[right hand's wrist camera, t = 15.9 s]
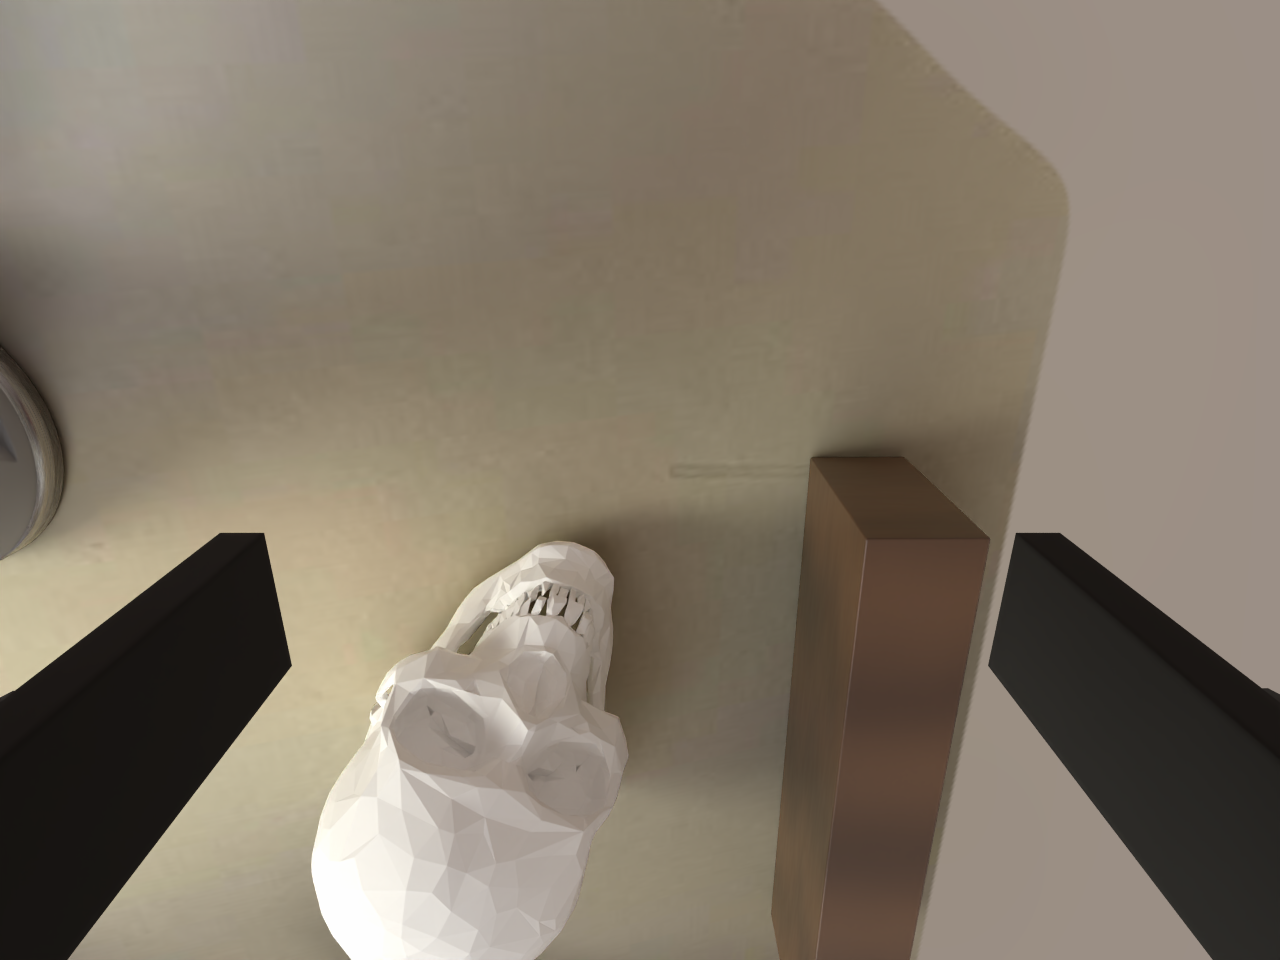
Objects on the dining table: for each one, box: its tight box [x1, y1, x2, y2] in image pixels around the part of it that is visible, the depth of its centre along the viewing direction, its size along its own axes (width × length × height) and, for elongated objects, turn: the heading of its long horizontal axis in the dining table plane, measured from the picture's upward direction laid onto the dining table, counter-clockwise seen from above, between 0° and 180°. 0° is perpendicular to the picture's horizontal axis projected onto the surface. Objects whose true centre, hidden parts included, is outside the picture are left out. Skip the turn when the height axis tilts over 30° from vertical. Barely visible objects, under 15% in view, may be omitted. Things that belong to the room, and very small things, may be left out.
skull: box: [311, 541, 629, 960], centre depth 35 cm, size 13×22×16 cm, turn 158°
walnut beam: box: [771, 457, 990, 960], centre depth 39 cm, size 34×5×10 cm, turn 0°
